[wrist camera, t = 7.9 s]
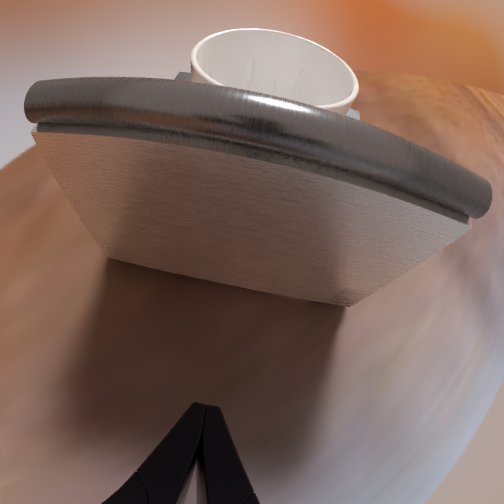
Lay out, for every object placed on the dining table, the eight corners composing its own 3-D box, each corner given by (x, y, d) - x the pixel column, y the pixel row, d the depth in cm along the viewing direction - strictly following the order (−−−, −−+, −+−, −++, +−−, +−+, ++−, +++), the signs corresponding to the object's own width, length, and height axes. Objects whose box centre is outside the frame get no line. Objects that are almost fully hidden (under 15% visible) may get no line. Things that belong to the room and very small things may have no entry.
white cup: (283, 140, 23) (318, 34, 14) (317, 224, 20) (388, 114, 11) (184, 149, 21) (184, 29, 12) (201, 242, 18) (203, 112, 9)
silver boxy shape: (347, 312, 17) (504, 211, 6) (106, 263, 16) (8, 103, 5) (345, 144, 23) (406, 29, 12) (175, 107, 22) (176, -23, 11)
